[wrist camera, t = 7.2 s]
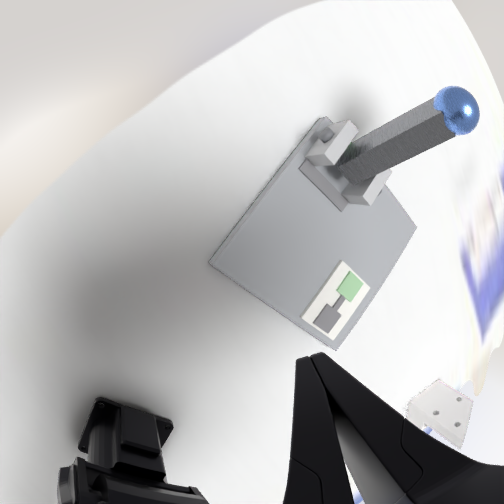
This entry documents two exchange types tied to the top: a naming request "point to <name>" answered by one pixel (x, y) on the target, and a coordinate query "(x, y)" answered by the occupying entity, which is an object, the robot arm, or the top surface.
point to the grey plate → (442, 412)
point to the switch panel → (318, 238)
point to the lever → (410, 134)
